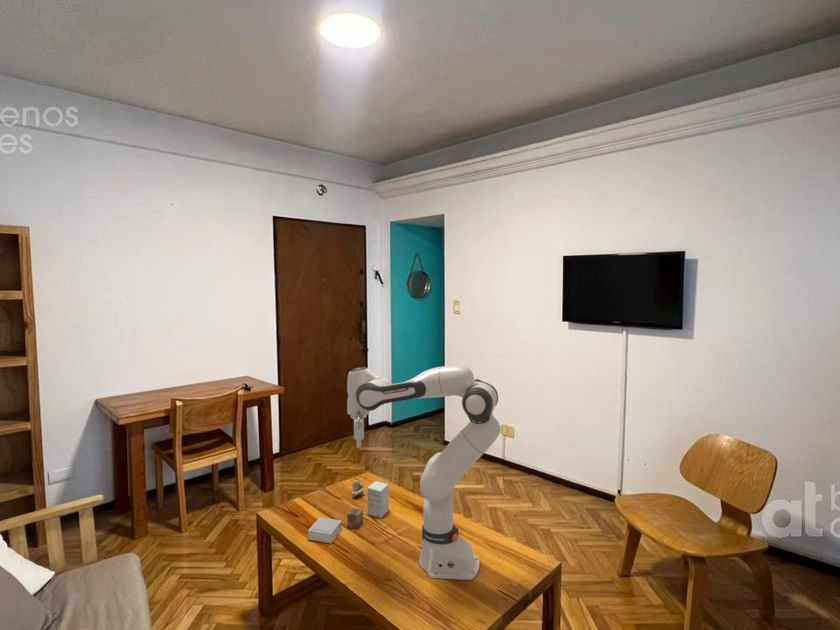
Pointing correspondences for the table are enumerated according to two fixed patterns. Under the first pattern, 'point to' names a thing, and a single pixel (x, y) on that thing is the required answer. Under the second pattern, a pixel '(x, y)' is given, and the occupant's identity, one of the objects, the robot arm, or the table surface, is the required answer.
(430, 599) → the table surface
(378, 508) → the supplement box
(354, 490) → the architectural model
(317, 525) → the plinth
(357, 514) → the walnut block
